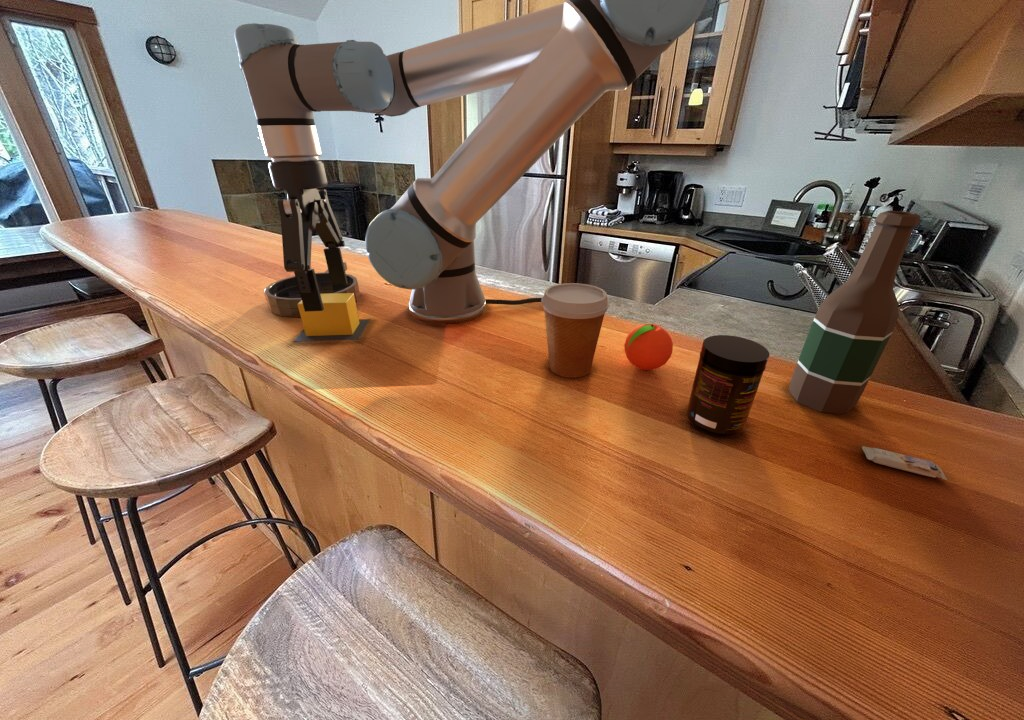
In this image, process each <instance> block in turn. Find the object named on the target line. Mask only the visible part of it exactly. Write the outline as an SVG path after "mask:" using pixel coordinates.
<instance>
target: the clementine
mask: <svg viewBox="0 0 1024 720" xmlns="http://www.w3.org/2000/svg"><path fill="white" fill-rule="evenodd" d="M623 345H624V346H623V347H624V349H623V350H624V354H625V357H626V359H627V360H628V361H629V363H630V364H631V365H633V366H634V367H635V368H637V369H640V370H643V371H653V370H657V369H659V368H661V367H663V366H665V365H666V364H667V362H668V361H669V360H670V358H671V357H672V355H673V347H674V343H673V339H672V337H671V335H670V334H669V332H668V331H667V330H666V329H665V328H663V327H662V326H660V325H658V324H655V323H643V324H641V325H640V324H639V325H638V326H636V327H634V328H633V329H632V330H631V331H630V332H629V333H628V334H627V335H626V337H625V342H624V344H623Z"/></svg>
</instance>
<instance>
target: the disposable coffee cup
mask: <svg viewBox="0 0 1024 720" xmlns="http://www.w3.org/2000/svg"><path fill="white" fill-rule="evenodd" d="M607 293H608V292H606V291H605V289H604V288H603V289H602V288H601V287H599V286H595V285H592V284H587V283H578V282H576V283H575V282H567V283H558V284H554V285H551V286H549V287H547V288H546V289H545V290H544V294H543V296H541V298H542V299H541V302H540V303H541V305H542V308H543V309H544V318H545V320H544V321H545V328H546V329H545V330H546V343H547V353H548V364H549V367H548V368H549V370H550V371H551V372H552V373H554V374H555V375H557V376H560V377H563V378H571V379H572V378H573V379H574V378H575V379H576V378H582V377H584V376H587V375H588V374H589V373H590V372H591V370H592V366H593V362H594V357H595V353H596V349H597V346H598V342H599V339H600V334H601V330H602V326H603V322H604V319H605V318H604V317H605V314H606V312H607V311H608V309H609V308H610V301H609V300H608V294H607Z"/></svg>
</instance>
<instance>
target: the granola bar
mask: <svg viewBox="0 0 1024 720" xmlns="http://www.w3.org/2000/svg"><path fill="white" fill-rule="evenodd" d="M861 448H862V451H863V453H864V454H865V457H866V459H867V460H869V461H872V462H873V463H875V464H878V465H883V466H886V467H889V468H894V469H898V470H901V471H905V472H909V473H914V474H918V475H921V476H926V477H930V478H933V479H935V478H940V479H941V480H946V481H948V478H947V476H946V475H945V473H944V471H943V469H942V468H941V467H940V465H938V464H936V463H935V462H934V461H931V460H927V459H923V458H919V457H916V456H911V455H906V454H904V453H903V454H902V453H900V452H895V451H891V450H886V449H882V448H878V447H868V446H863V445H862V446H861Z"/></svg>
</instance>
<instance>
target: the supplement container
mask: <svg viewBox="0 0 1024 720" xmlns="http://www.w3.org/2000/svg"><path fill="white" fill-rule="evenodd" d="M701 345H702V346H701V349H700V352H699V357H698V358H699V359H698V363H697V366H696V371H695V375H694V379H693V383H692V386H691V389H690V395H689V399H688V404H687V407H686V411H685V416H686V418H687V420H688V422H689V423H690V425H691V426H692V427H693V428H695V430H698V431H699V432H701V433H703V434H705V435H708V436H711V437H716V438H723V439H725V438H733V437H736V436H738V435H740V434H741V433H742V432H743V431H744V430H745V428H746V426H747V425H746V424H747V423H748V419H749V416H750V413H751V410H752V407H753V405H754V401H755V399H756V395H757V393H758V390H759V386H760V383H761V381H762V377H763V375H764V372H765V370H766V367H767V364H768V361H769V358H770V351H769V350H768V349H767V348H766V347H765V346H763V345H762V344H761V343H758V342H757V341H754V340H752V339H748V338H745V337H741V336H736V335H728V334H717V335H715V334H714V335H710V336H707V337H705V338H704V339H703V341H702V344H701Z"/></svg>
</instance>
